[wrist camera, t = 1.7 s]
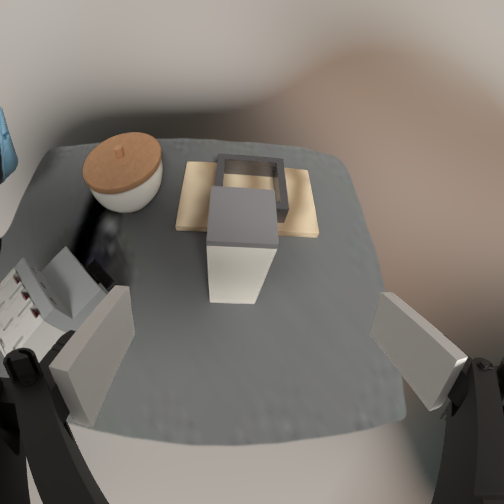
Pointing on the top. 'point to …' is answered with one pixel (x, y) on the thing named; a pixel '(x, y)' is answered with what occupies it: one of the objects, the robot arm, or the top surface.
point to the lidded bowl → (124, 171)
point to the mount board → (204, 175)
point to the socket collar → (257, 168)
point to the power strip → (240, 242)
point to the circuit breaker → (48, 301)
